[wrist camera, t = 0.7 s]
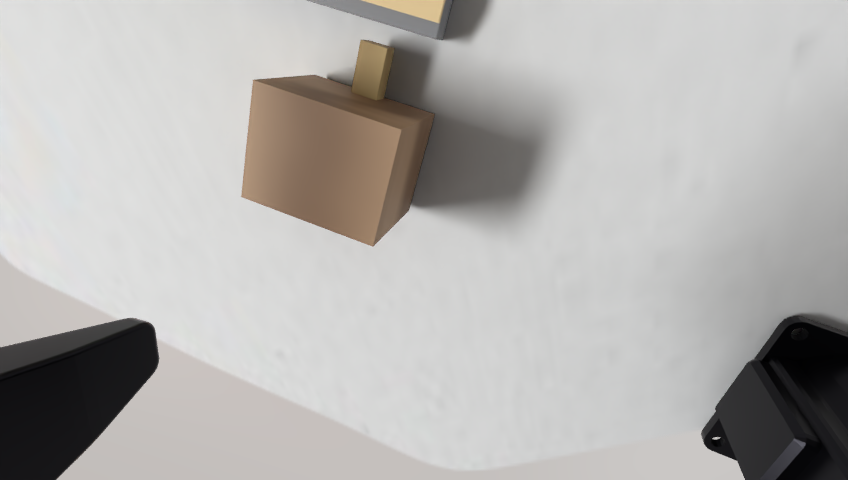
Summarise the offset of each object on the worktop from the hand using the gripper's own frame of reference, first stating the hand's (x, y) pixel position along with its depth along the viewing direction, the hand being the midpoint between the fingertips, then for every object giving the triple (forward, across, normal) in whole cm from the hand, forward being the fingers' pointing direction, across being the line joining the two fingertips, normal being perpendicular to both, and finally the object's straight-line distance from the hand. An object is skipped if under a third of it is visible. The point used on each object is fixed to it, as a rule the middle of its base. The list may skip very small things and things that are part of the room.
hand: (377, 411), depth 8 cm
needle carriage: (+12, +6, -2) cm, 13 cm away
